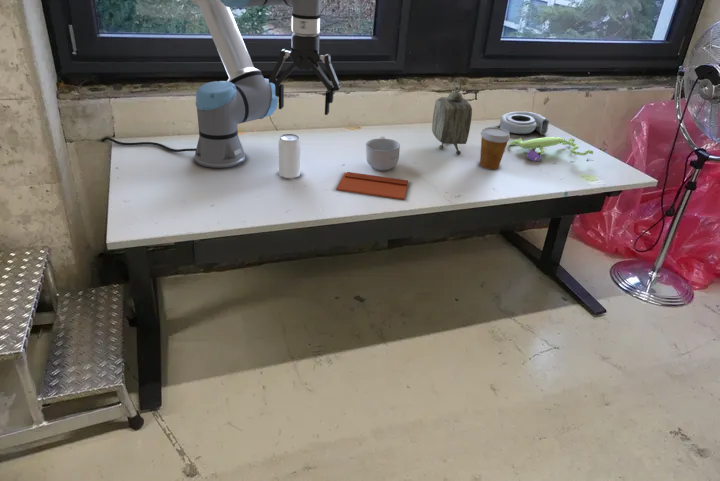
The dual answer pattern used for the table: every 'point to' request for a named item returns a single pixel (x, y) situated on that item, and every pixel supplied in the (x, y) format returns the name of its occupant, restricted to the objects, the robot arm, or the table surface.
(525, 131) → the turbocharger housing
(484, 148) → the disposable coffee cup
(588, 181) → the table surface
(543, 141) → the figurine
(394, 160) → the teacup
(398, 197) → the orange envelope wallet
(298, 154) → the can
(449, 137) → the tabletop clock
